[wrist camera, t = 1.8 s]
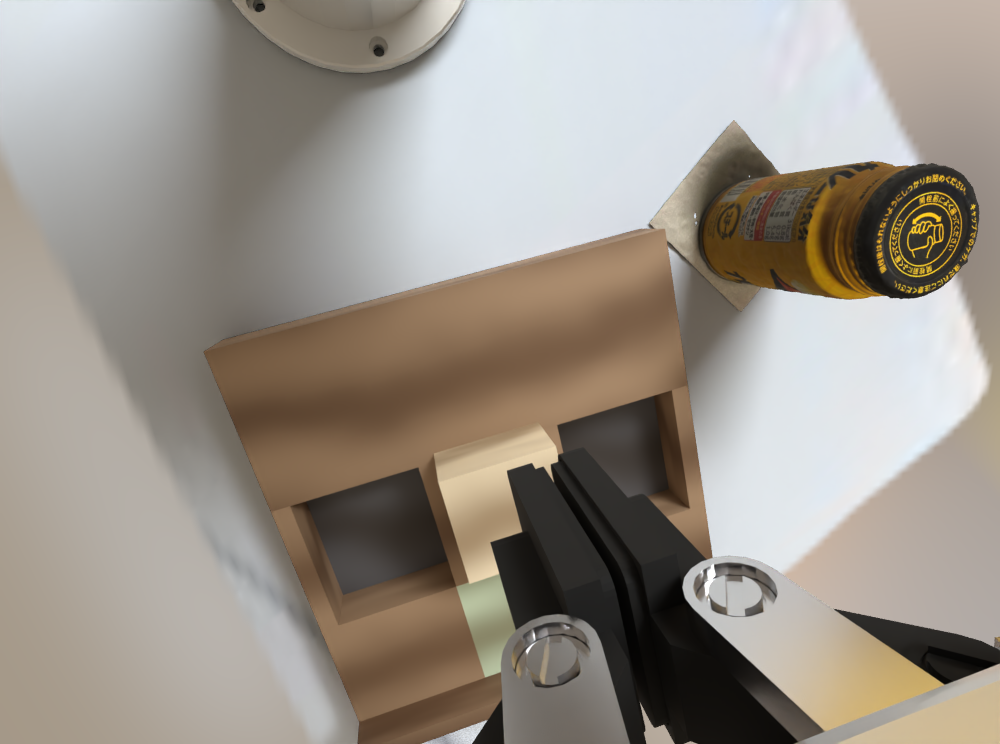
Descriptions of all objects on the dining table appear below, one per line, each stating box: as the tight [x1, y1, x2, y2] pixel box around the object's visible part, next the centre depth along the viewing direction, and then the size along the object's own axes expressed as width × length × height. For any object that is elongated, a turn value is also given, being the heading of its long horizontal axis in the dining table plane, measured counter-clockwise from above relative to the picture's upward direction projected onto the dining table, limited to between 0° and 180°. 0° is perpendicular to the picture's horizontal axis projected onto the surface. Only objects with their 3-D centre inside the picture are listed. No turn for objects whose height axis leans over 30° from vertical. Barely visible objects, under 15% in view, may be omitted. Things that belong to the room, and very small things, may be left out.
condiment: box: [650, 120, 979, 312], centre depth 26 cm, size 7×8×12 cm
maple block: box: [434, 422, 558, 584], centre depth 29 cm, size 6×6×4 cm
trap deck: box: [204, 229, 713, 744], centre depth 31 cm, size 25×24×5 cm
